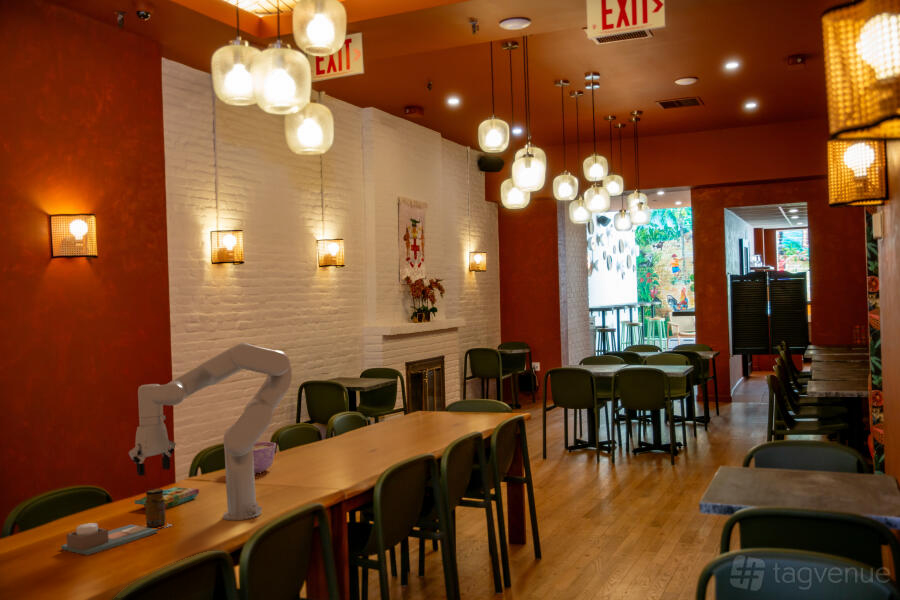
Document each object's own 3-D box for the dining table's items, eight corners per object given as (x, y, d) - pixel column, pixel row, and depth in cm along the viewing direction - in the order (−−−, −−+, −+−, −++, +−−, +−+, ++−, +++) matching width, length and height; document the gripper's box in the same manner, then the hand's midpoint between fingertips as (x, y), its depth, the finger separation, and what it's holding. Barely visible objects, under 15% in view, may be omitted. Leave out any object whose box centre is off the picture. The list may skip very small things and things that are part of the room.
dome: (102, 534, 237) (101, 524, 237) (83, 540, 232) (83, 529, 232) (91, 532, 240) (90, 522, 240) (72, 537, 235) (72, 527, 235)
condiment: (161, 521, 262) (159, 486, 262) (173, 525, 256) (171, 490, 256) (140, 527, 256) (138, 491, 256) (152, 531, 251) (150, 494, 251)
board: (157, 533, 248) (156, 517, 248) (87, 555, 228) (86, 539, 228) (131, 527, 256) (130, 513, 256) (61, 549, 236) (60, 533, 236)
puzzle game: (198, 486, 292) (157, 500, 274) (199, 499, 292) (158, 513, 274) (176, 485, 298) (134, 498, 280) (176, 497, 298) (135, 510, 280)
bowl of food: (221, 477, 327) (220, 450, 327) (244, 467, 346) (243, 441, 346) (264, 478, 322) (262, 450, 322) (285, 467, 341) (284, 441, 341)
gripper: (166, 416, 266) (168, 466, 265) (121, 424, 251) (123, 476, 251) (180, 417, 261) (182, 467, 261) (135, 425, 247) (137, 478, 247)
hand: (153, 472), depth 256 cm, fingers open, 9 cm apart
